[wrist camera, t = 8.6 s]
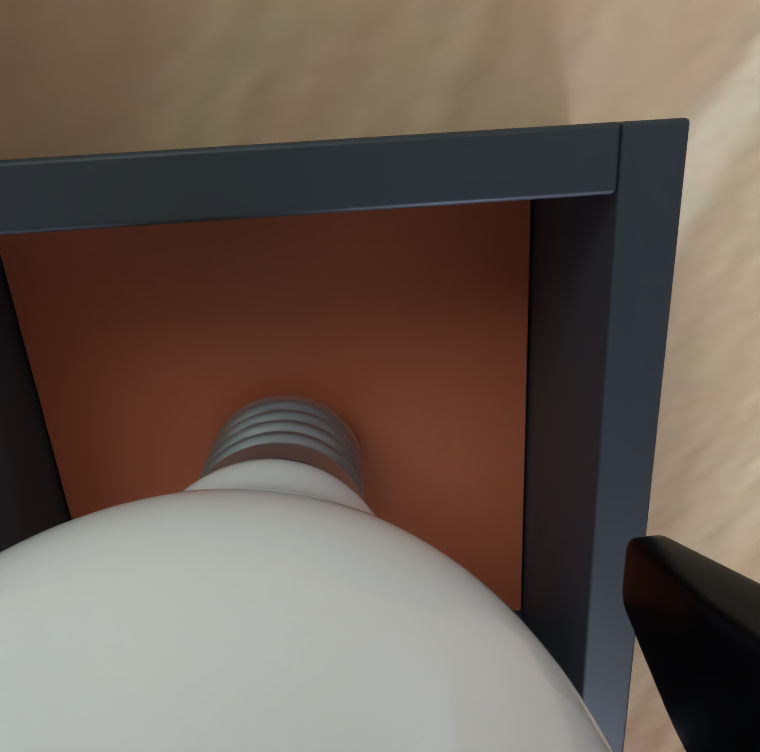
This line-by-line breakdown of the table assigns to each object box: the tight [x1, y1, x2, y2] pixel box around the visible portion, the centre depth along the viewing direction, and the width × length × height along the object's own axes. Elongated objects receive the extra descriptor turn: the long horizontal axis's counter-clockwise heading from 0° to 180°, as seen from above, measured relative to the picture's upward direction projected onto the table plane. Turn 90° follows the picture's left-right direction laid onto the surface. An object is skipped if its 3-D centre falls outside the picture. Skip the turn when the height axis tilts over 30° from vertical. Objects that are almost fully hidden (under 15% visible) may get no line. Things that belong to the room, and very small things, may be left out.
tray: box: [0, 118, 689, 752], centre depth 12 cm, size 11×20×4 cm, turn 3°
